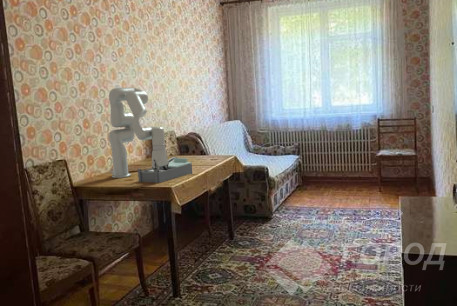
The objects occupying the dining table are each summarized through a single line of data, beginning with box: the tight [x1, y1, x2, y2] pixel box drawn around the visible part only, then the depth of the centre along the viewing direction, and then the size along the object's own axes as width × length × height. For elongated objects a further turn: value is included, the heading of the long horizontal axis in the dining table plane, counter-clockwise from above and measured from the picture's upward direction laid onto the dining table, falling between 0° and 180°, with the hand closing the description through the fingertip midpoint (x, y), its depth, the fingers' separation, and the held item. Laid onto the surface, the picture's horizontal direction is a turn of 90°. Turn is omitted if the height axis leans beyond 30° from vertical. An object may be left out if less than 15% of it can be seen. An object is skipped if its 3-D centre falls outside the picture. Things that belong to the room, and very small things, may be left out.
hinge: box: [168, 156, 178, 162], centre depth 306 cm, size 17×5×10 cm, turn 155°
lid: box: [161, 157, 192, 168], centre depth 280 cm, size 16×16×3 cm
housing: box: [137, 163, 193, 184], centre depth 273 cm, size 16×34×9 cm, turn 149°
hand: (161, 176), depth 265 cm, fingers open, 6 cm apart
